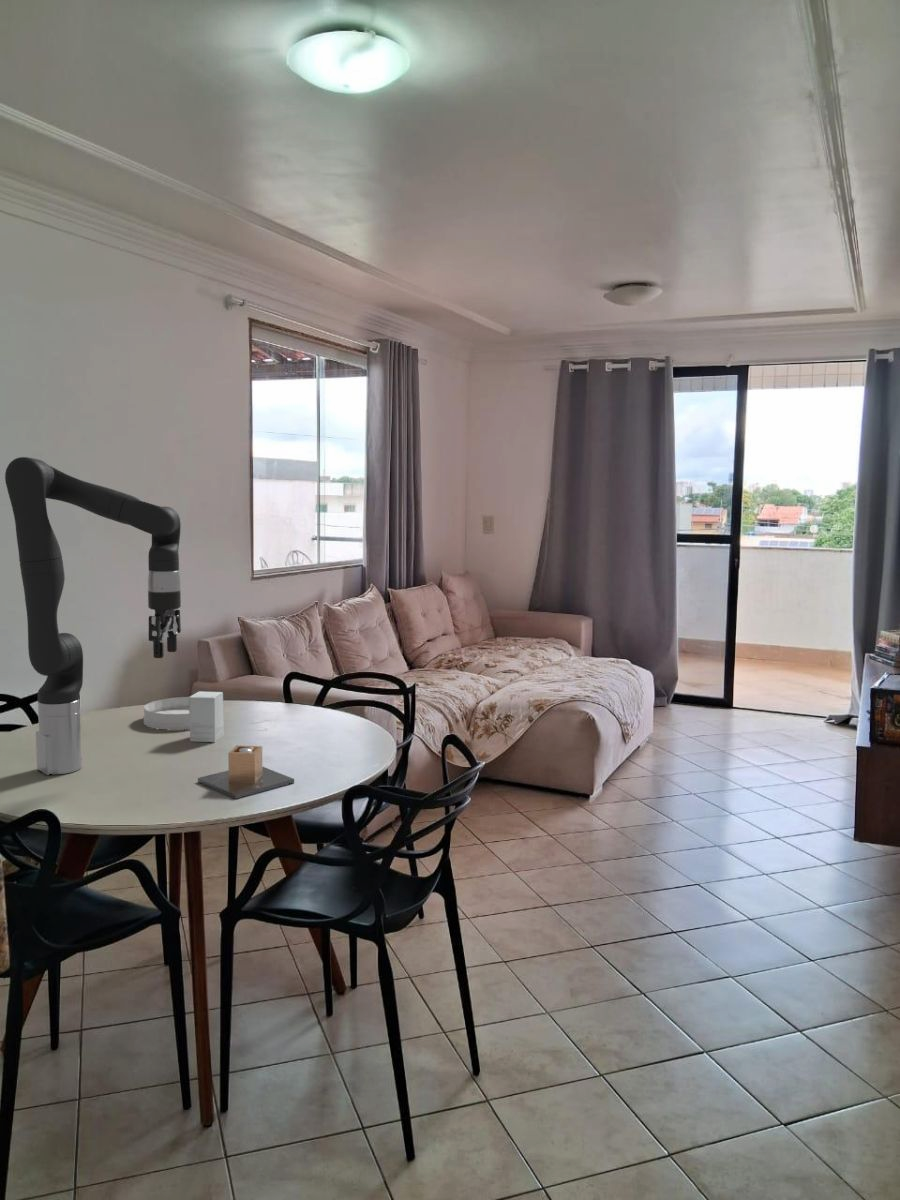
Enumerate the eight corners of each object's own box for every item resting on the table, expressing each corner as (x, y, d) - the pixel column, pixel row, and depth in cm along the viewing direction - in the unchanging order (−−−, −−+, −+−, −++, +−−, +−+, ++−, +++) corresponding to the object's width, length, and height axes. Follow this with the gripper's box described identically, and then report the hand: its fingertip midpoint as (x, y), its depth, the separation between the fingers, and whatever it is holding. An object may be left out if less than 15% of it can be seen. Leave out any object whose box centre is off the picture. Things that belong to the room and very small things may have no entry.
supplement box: (224, 735, 244) (224, 691, 242) (215, 743, 236) (214, 697, 235) (199, 734, 244) (198, 690, 243) (188, 741, 237) (188, 696, 235)
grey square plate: (235, 799, 193) (235, 764, 192) (197, 782, 204) (197, 749, 203) (294, 783, 205) (294, 750, 204) (255, 767, 216) (255, 736, 215)
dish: (192, 708, 274) (192, 693, 274) (236, 721, 261) (235, 704, 260) (128, 721, 257) (128, 705, 257) (171, 735, 243) (170, 718, 243)
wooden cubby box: (254, 783, 201) (254, 754, 200) (228, 782, 201) (228, 752, 200) (262, 774, 207) (262, 746, 206) (236, 773, 207) (236, 745, 207)
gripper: (168, 592, 203) (169, 660, 205) (189, 586, 217) (190, 650, 219) (136, 591, 204) (138, 659, 205) (160, 585, 218) (161, 649, 220)
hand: (165, 654), depth 212 cm, fingers open, 8 cm apart
